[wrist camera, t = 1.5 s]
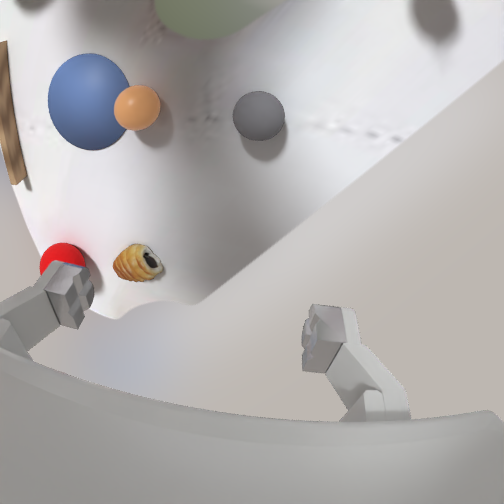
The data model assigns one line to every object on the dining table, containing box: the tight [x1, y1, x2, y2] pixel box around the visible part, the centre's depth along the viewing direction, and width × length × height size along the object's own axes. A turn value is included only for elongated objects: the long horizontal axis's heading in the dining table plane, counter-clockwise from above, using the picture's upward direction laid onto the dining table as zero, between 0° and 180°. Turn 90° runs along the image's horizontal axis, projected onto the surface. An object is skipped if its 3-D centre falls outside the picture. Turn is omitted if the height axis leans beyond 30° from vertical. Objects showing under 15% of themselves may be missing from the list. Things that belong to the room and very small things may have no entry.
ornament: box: [40, 243, 85, 275], centre depth 49 cm, size 9×9×10 cm
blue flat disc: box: [48, 54, 129, 150], centre depth 34 cm, size 14×14×1 cm
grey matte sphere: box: [233, 91, 285, 141], centre depth 32 cm, size 6×6×6 cm
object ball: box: [114, 85, 160, 131], centre depth 32 cm, size 6×6×6 cm
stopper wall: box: [0, 41, 27, 185], centre depth 33 cm, size 24×2×3 cm, turn 174°
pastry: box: [113, 244, 163, 282], centre depth 51 cm, size 9×7×4 cm
